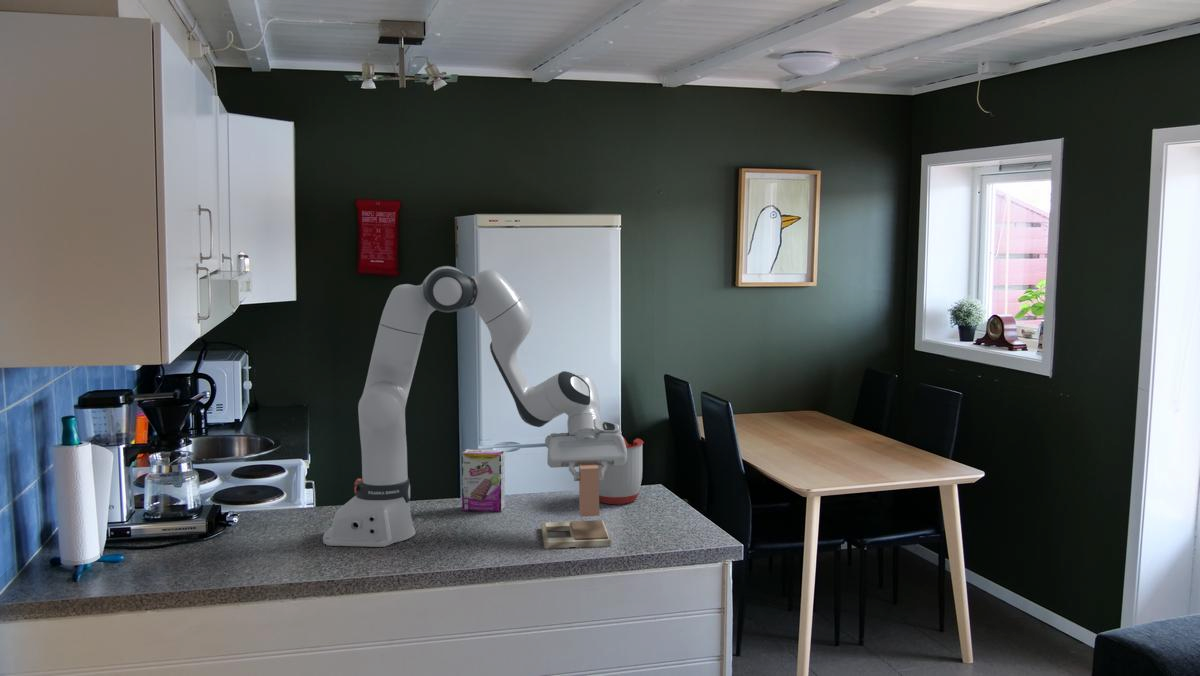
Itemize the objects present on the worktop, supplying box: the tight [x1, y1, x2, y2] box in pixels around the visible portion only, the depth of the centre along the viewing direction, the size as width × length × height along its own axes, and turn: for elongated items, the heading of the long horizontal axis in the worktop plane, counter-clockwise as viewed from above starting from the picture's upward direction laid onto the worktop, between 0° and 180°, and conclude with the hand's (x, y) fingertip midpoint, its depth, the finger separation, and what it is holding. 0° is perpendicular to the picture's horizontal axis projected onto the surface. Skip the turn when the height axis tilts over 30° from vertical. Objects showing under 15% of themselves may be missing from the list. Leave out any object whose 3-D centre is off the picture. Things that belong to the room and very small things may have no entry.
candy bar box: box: [461, 448, 506, 513], centre depth 256 cm, size 11×5×16 cm, turn 84°
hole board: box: [541, 519, 612, 550], centre depth 233 cm, size 16×16×2 cm
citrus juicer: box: [598, 433, 644, 505], centre depth 266 cm, size 16×17×20 cm
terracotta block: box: [578, 464, 600, 517], centre depth 232 cm, size 4×4×12 cm
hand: (589, 479), depth 231 cm, fingers closed on terracotta block, 4 cm apart
